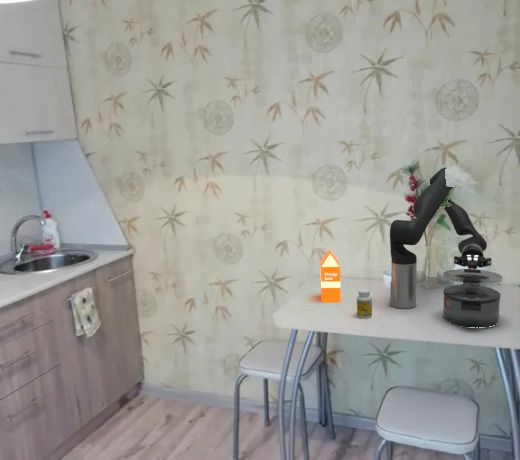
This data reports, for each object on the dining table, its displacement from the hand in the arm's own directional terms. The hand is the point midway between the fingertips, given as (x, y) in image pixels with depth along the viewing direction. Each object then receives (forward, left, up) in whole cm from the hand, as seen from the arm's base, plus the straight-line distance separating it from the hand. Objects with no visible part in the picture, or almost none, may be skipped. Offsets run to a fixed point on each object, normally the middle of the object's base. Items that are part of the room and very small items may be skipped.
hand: (472, 266), depth 170 cm
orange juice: (-53, +11, -20) cm, 58 cm away
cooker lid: (0, +3, -5) cm, 5 cm away
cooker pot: (0, +2, -20) cm, 20 cm away
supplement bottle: (-36, -5, -20) cm, 41 cm away
